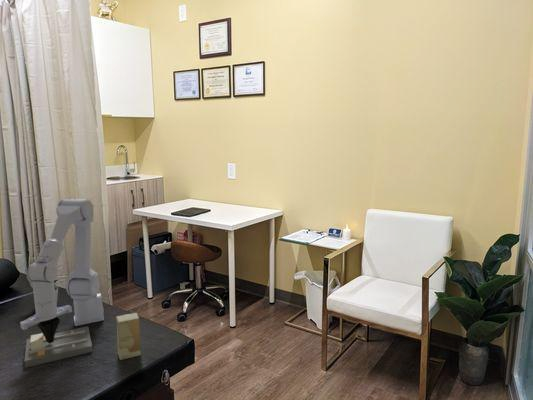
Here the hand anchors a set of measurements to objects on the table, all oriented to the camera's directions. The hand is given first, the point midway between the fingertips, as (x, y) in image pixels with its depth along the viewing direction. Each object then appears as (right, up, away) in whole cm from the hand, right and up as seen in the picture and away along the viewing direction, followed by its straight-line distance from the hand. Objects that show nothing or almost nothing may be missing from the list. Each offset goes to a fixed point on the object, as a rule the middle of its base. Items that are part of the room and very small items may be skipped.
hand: (50, 341), depth 127 cm
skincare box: (+25, -3, -2) cm, 26 cm away
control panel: (+2, -3, +2) cm, 4 cm away
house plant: (-19, +3, +34) cm, 39 cm away
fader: (-3, -1, -1) cm, 3 cm away
